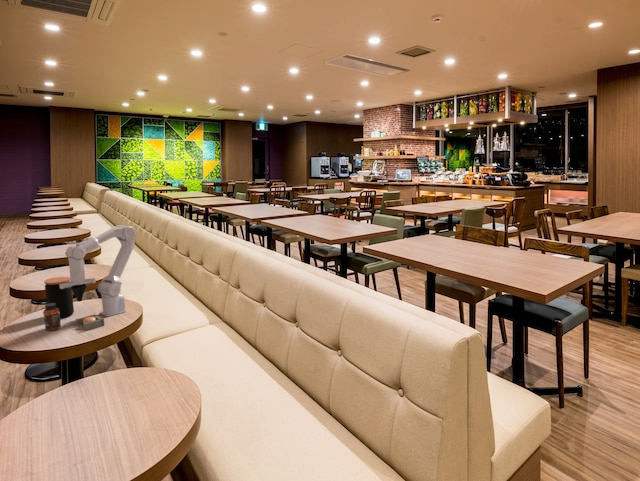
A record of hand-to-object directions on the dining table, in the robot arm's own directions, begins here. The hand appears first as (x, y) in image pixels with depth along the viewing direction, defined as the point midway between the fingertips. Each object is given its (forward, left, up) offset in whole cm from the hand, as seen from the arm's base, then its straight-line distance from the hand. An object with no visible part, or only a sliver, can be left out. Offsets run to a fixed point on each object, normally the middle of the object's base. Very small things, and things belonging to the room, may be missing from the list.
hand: (79, 300), depth 192 cm
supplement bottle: (+11, -2, -11) cm, 15 cm away
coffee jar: (+2, -17, -11) cm, 20 cm away
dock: (-1, +7, -10) cm, 13 cm away
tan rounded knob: (-1, +7, -11) cm, 13 cm away
